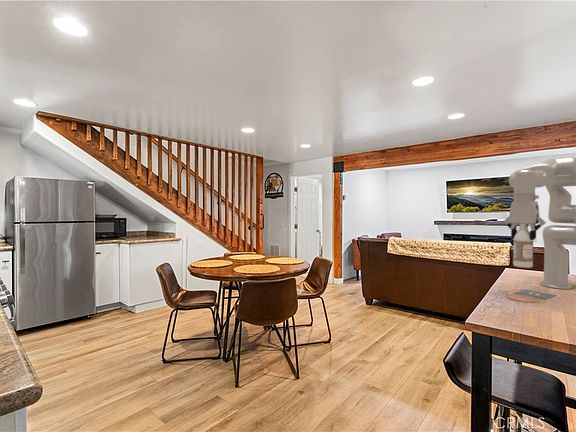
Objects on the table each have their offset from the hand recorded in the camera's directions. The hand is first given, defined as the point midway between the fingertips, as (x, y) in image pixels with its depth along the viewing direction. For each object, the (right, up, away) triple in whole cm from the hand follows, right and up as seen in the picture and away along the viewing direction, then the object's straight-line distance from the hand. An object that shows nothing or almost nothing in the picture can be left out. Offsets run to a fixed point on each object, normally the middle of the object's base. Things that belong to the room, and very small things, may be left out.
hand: (523, 238), depth 137 cm
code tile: (+11, -27, +8) cm, 30 cm away
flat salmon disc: (0, -27, +1) cm, 27 cm away
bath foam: (0, -13, 0) cm, 13 cm away
